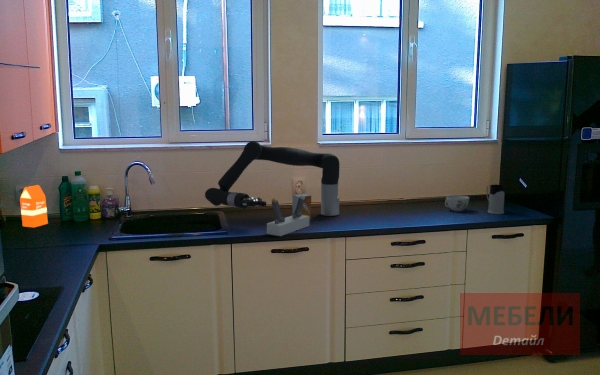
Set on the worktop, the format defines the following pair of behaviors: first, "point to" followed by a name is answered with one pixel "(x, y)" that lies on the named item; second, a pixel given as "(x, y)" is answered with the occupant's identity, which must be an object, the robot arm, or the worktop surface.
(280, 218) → the tan tipped lever
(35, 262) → the worktop surface
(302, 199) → the grey lever
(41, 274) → the worktop surface
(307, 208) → the small box
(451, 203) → the teacup
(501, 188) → the glass holder
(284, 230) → the switch box
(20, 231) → the worktop surface
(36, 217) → the orange juice
